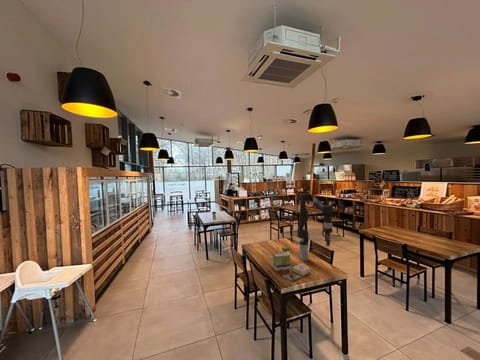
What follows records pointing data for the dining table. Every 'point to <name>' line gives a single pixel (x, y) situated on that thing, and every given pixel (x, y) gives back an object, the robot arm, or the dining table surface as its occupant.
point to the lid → (291, 276)
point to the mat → (291, 281)
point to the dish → (301, 269)
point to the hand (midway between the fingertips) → (328, 244)
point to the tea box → (281, 261)
